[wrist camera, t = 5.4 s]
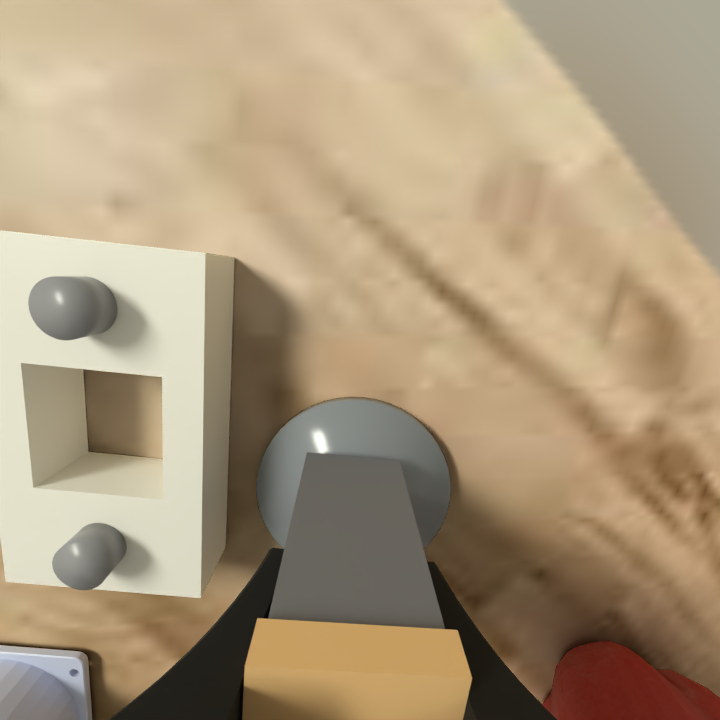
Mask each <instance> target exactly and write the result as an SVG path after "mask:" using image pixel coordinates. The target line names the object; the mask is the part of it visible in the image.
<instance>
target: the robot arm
mask: <svg viewBox="0 0 720 720" xmlns="http://www.w3.org/2000/svg"><path fill="white" fill-rule="evenodd" d="M283 552H284V549H279V548H272V549H271V550H269V552H268V554H267V555H266V557H265V559H264V560H263V562H262V564H261V565H260V567H259V568H258V570H257V571H256V572H255V574H254V575H253V577H252V578H251V580H250V581H249V582H248V584H247V585H246V586H245V588H244V589H243V590H242V592H241V593H240V594H239V595H238V597H237V598H236V599H235V601H234V602H233V603H232V604H231V605H230V607H229V608H228V609H227V610H226V611H225V613H224V614H223V615H222V616H221V617H220V618H219V620H218V621H217V622H216V623H215V624H214V625H213V627H212V628H211V629H210V630H209V631H208V632H207V633H206V634H205V635H204V636H203V637H202V638H201V639H200V640H199V641H198V642H197V644H196V645H195V646H194V647H193V648H192V649H191V650H190V651H189V652H188V653H187V654H186V655H184V656H183V657H182V658H181V659H180V660H179V661H178V662H177V663H176V664H175V665H174V666H173V667H172V668H171V669H170V670H169V671H167V672H166V673H165V674H164V675H163V676H162V677H161V678H160V679H158V680H157V681H156V682H155V683H154V684H153V685H151V686H150V687H149V688H148V689H147V690H145V691H144V692H143V693H142V694H141V695H139V696H138V697H137V698H136V699H134V700H133V701H132V702H131V703H130V704H128V705H127V706H126V707H125V708H123V709H122V710H121V711H120V712H118V713H117V714H116V715H114V716H113V717H112V718H111V719H109V720H242V714H243V692H244V670H245V663H246V659H247V656H248V652H249V648H250V644H251V640H252V637H253V633H254V629H255V625H256V622H257V618H264V619H268V617H269V612H270V608H271V604H272V600H273V595H274V591H275V587H276V582H277V578H278V574H279V570H280V565H281V561H282V557H283ZM427 564H428V567H429V571H430V575H431V578H432V582H433V586H434V590H435V593H436V597H437V601H438V604H439V608H440V612H441V615H442V619H443V623H444V626H445V629H450V630H458V633H459V636H460V640H461V643H462V646H463V649H464V653H465V656H466V659H467V663H468V666H469V669H470V672H471V676H472V681H471V686H470V690H469V695H468V699H467V703H466V708H465V712H464V717H463V720H557V719H556V718H555V717H554V716H553V715H552V714H551V713H550V712H549V711H548V710H547V709H546V708H545V707H544V706H543V705H542V704H541V703H540V702H539V701H538V700H537V699H536V698H535V697H534V696H533V695H532V694H531V693H530V692H529V691H528V690H527V689H526V688H525V686H524V685H523V684H522V683H521V682H520V681H519V680H518V679H517V678H516V676H515V675H514V674H513V673H512V672H511V671H510V670H509V668H508V667H507V666H506V665H505V664H504V662H503V661H502V660H501V659H500V658H499V656H498V655H497V654H496V653H495V651H494V650H493V649H492V647H491V646H490V645H489V644H488V642H487V641H486V640H485V638H484V637H483V636H482V634H481V633H480V632H479V630H478V629H477V627H476V626H475V625H474V623H473V622H472V620H471V619H470V617H469V616H468V614H467V613H466V612H465V610H464V609H463V607H462V606H461V604H460V603H459V601H458V600H457V598H456V597H455V595H454V593H453V592H452V590H451V589H450V587H449V585H448V584H447V582H446V581H445V579H444V577H443V576H442V574H441V572H440V571H439V569H438V567H437V566H436V564H435V563H434V562H427ZM0 720H92V707H91V693H90V679H89V665H88V658H87V655H86V654H85V653H83V652H80V651H69V650H56V649H44V648H31V647H19V646H6V645H0Z"/></svg>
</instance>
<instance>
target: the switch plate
mask: <svg viewBox="0 0 720 720" xmlns="http://www.w3.org/2000/svg"><path fill="white" fill-rule="evenodd" d="M234 262H235V257H229V256H222V255H216V254H209V253H201V252H192V251H183V250H174V249H165V248H155V247H146V246H137V245H128V244H119V243H110V242H101V241H92V240H83V239H74V238H65V237H56V236H46V235H37V234H28V233H19V232H10V231H1V230H0V539H1V547H2V555H3V563H4V570H5V578H6V582H15V583H27V584H39V585H51V586H63V587H71V588H74V589H78V590H89V589H98V590H110V591H122V592H134V593H146V594H158V595H170V596H182V597H193V598H201V597H202V595H203V593H204V591H205V588H206V586H207V584H208V582H209V580H210V578H211V576H212V574H213V572H214V570H215V568H216V566H217V564H218V562H219V560H220V558H221V556H222V554H223V552H224V550H225V548H226V524H227V491H228V459H229V426H230V393H231V360H232V327H233V295H234ZM83 369H86V370H96V371H106V372H116V373H126V374H136V375H146V376H156V377H162V421H163V459H159V458H148V457H138V456H127V455H117V454H106V453H95V452H88V437H87V421H86V405H85V388H84V372H83Z"/></svg>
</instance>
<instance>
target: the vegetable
mask: <svg viewBox="0 0 720 720" xmlns="http://www.w3.org/2000/svg"><path fill="white" fill-rule="evenodd" d="M542 705H543V706H544V707H545V708H546V709H547V710H548V711H549V712H550V713H551V714H552V715H553V716H554V717H555V718H556V719H557V720H720V698H719V697H718V696H717V695H715V694H714V693H713V692H712V691H710V690H709V689H708V688H706V687H704V686H702V685H700V684H698V683H696V682H694V681H692V680H690V679H688V678H686V677H684V676H682V675H680V674H678V673H676V672H675V671H673V670H655V669H654V668H653V667H652V666H651V665H650V664H648V663H647V662H646V661H645V660H644V659H643V658H642V657H640V656H639V655H637V654H636V653H635V652H633V651H632V650H630V649H629V648H627V647H626V646H623V645H620V644H617V643H614V642H611V641H603V642H595V643H589V644H585V645H581V646H577V647H575V648H573V649H571V650H569V651H568V652H567V653H566V654H565V656H564V657H563V658H562V660H561V661H560V662H559V663H558V665H557V666H556V670H555V675H554V680H553V685H552V690H551V694H550V695H549V696H548V698H547V699H546V700H545V701H544V702H543V704H542Z"/></svg>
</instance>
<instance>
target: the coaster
mask: <svg viewBox="0 0 720 720" xmlns="http://www.w3.org/2000/svg"><path fill="white" fill-rule="evenodd" d="M307 452H312V453H324V454H336V455H348V456H360V457H372V458H384V459H396V460H400V464H401V468H402V471H403V475H404V479H405V483H406V486H407V490H408V494H409V497H410V501H411V505H412V508H413V512H414V516H415V519H416V523H417V527H418V531H419V534H420V538H421V542H422V545H423V549H424V548H425V547H426V546H427V545H428V544H429V543H430V542H431V540H432V539H433V538H434V537H435V535H436V534H437V532H438V531H439V529H440V527H441V526H442V524H443V521H444V519H445V517H446V514H447V511H448V507H449V503H450V494H451V484H450V475H449V470H448V466H447V463H446V461H445V458H444V455H443V453H442V451H441V449H440V447H439V445H438V443H437V442H436V440H435V439H434V437H433V436H432V434H431V433H430V432H429V430H428V429H427V428H426V427H425V426H424V425H423V424H422V423H421V422H420V421H419V420H417V419H416V418H415V417H414V416H412V415H411V414H409V413H408V412H406V411H404V410H403V409H401V408H399V407H397V406H394V405H392V404H390V403H387V402H384V401H380V400H377V399H371V398H365V397H344V398H336V399H331V400H327V401H323V402H320V403H318V404H315V405H312V406H310V407H308V408H306V409H304V410H302V411H301V412H299V413H298V414H296V415H295V416H294V417H292V418H291V419H290V420H289V421H288V422H286V423H285V424H284V425H283V426H282V427H281V429H280V430H279V431H278V432H277V433H276V434H275V436H274V437H273V439H272V441H271V442H270V444H269V445H268V447H267V449H266V451H265V453H264V456H263V458H262V460H261V463H260V467H259V470H258V475H257V483H256V493H257V501H258V507H259V510H260V513H261V517H262V519H263V521H264V523H265V525H266V527H267V529H268V531H269V532H270V534H271V535H272V537H273V538H274V539H275V540H276V541H277V543H278V544H279V545H280V546H281V547H282V548H283V549H284V548H285V544H286V540H287V535H288V531H289V527H290V522H291V518H292V514H293V509H294V505H295V501H296V497H297V492H298V488H299V484H300V479H301V475H302V471H303V467H304V462H305V458H306V454H307Z"/></svg>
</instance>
